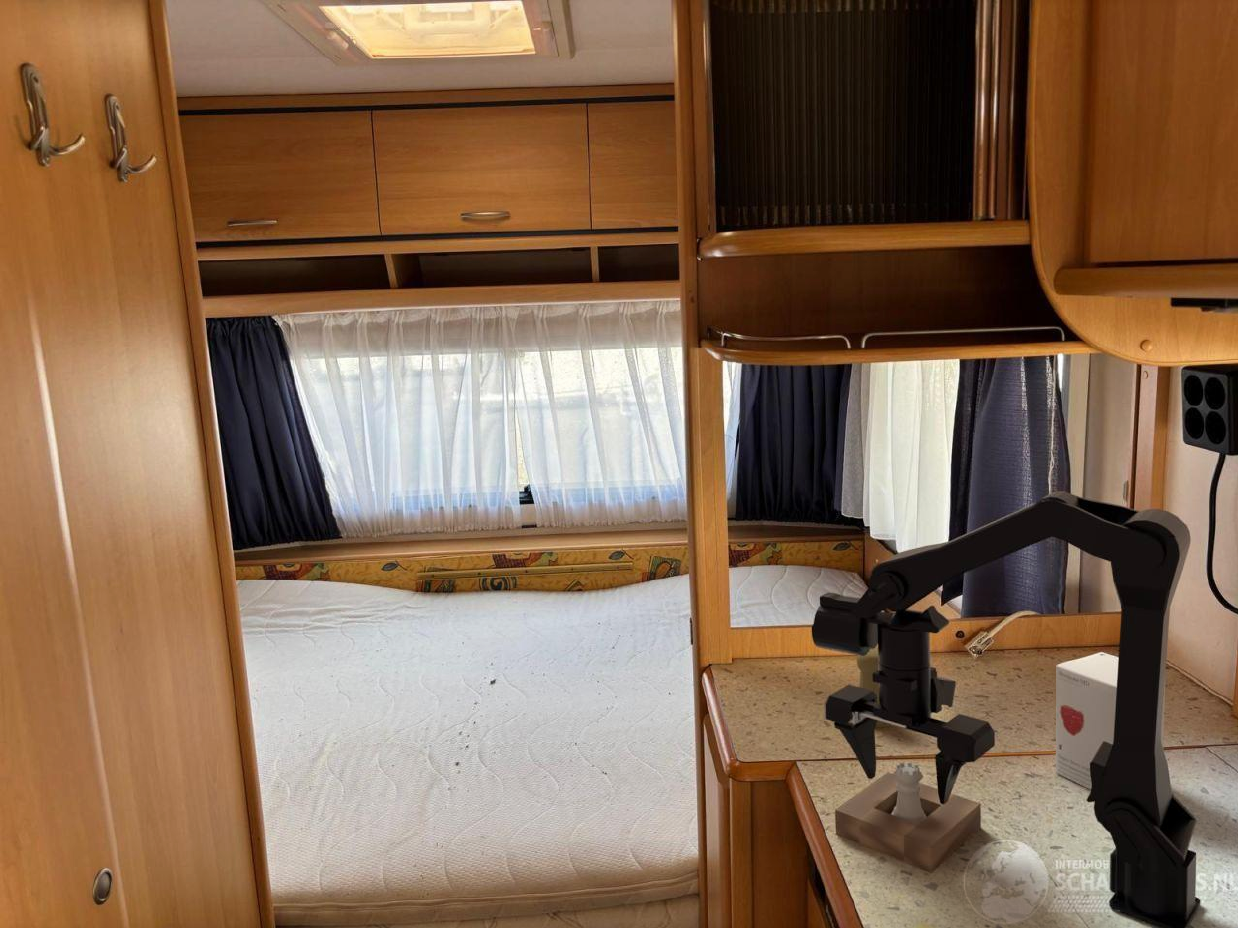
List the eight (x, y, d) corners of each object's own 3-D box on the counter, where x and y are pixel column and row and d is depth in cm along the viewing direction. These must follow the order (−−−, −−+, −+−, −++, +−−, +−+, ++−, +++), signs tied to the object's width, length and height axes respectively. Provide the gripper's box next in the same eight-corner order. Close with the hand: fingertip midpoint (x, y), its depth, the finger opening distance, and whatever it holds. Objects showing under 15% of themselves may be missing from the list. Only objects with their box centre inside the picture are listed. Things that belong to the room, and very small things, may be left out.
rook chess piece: (897, 816, 107) (896, 754, 106) (934, 827, 104) (933, 763, 103) (883, 834, 103) (882, 769, 102) (921, 845, 101) (920, 779, 100)
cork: (865, 729, 131) (863, 658, 130) (848, 713, 137) (846, 645, 136) (903, 724, 132) (902, 653, 131) (885, 708, 138) (883, 641, 137)
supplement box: (1052, 773, 115) (1052, 663, 113) (1100, 756, 119) (1100, 649, 117) (1116, 804, 107) (1117, 685, 105) (1165, 785, 110) (1167, 670, 108)
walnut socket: (980, 827, 104) (980, 803, 103) (931, 872, 95) (930, 846, 95) (888, 794, 112) (887, 771, 112) (835, 833, 104) (834, 809, 104)
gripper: (1015, 659, 100) (1016, 788, 102) (869, 628, 114) (872, 743, 116) (970, 689, 92) (972, 828, 94) (819, 652, 106) (823, 775, 108)
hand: (906, 789), depth 103 cm, fingers open, 9 cm apart
